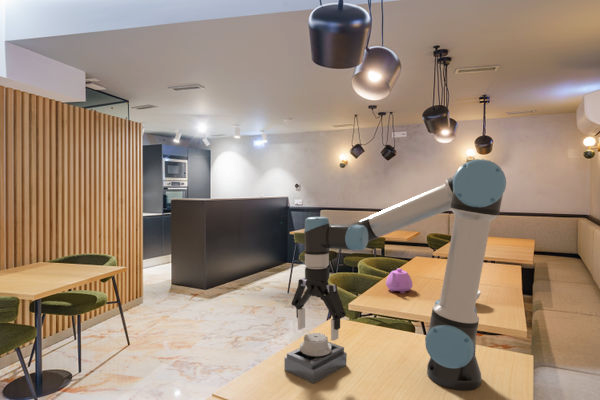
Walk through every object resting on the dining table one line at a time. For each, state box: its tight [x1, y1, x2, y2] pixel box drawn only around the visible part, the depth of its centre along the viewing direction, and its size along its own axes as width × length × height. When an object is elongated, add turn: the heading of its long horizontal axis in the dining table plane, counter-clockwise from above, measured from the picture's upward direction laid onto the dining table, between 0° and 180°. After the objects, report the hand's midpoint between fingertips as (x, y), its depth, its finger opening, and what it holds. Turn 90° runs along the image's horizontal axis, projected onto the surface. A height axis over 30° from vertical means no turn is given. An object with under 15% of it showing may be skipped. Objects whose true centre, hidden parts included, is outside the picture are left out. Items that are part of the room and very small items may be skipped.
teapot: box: [385, 267, 413, 294], centre depth 211 cm, size 20×14×12 cm
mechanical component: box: [299, 332, 332, 356], centre depth 122 cm, size 10×4×10 cm
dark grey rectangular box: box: [283, 341, 347, 385], centre depth 123 cm, size 12×19×6 cm, turn 137°
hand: (317, 333), depth 121 cm, fingers open, 13 cm apart
